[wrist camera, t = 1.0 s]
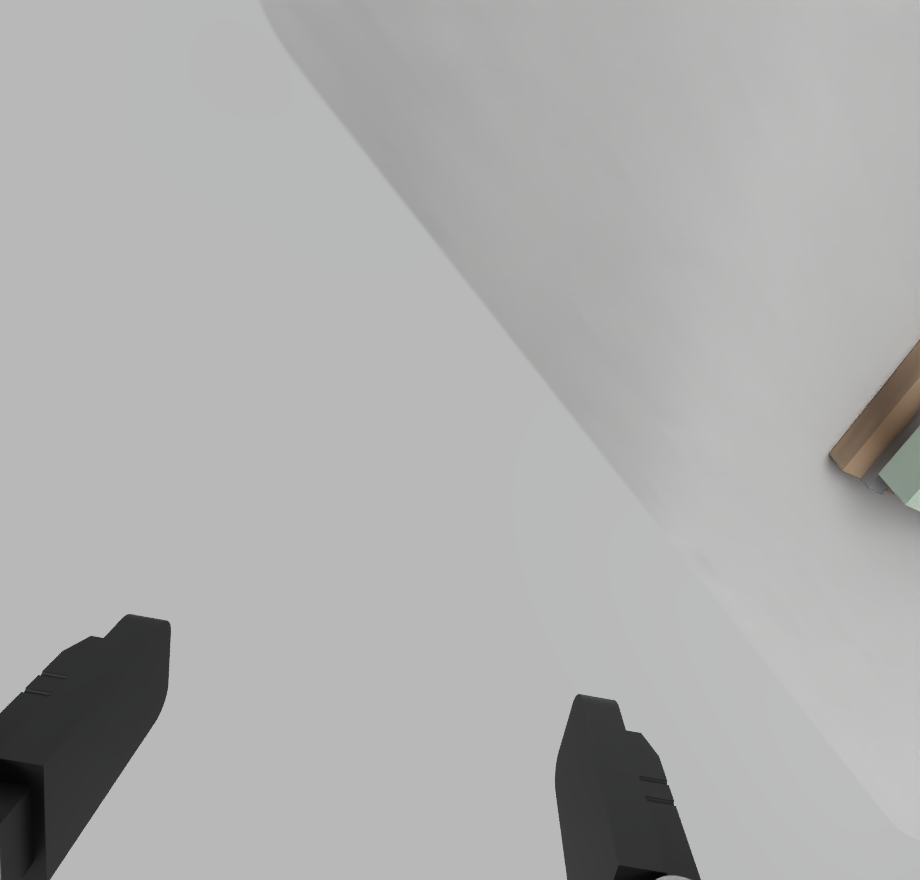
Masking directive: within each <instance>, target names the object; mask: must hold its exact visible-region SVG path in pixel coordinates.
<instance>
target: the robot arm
mask: <svg viewBox="0 0 920 880" xmlns="http://www.w3.org/2000/svg"><path fill="white" fill-rule="evenodd" d="M170 637H171V627H170V623H169V622H168V621H166V620H160V619H154V618H149V617H143V616H137V615H132V614H128V615H126V616H124V617H123V618H122V619H121V620H120V621H119V622H118V623H117V625H116V626H115V627H114V628H113V629H112V630H111V631H110V632H109V633H108V634H107V635H106V636H105V637H104V638H100V637H94V636H90V637H88V638H86V639H84V640H83V641H81V642H79V643H77V644H75V645H73V646H71V647H70V648H68V649H66V650H64V651H62V652H61V653H60V654H59V655H58V656H57V657H56V658H55V659H54V660H53V661H52V662H51V663H50V664H49V665H48V666H47V667H46V668H45V669H44V670H43V672H42V674H41V676H40V675H38V676H37V677H36V678H35V679H34V680H33V681H32V682H31V683H30V684H29V685H28V686H27V687H26V690H25V692H24V693H23V692H21V693H20V694H19V695H18V696H17V697H16V698H15V699H14V700H13V701H12V702H11V703H10V704H9V705H8V706H7V707H6V708H5V709H4V710H3V711H2V712H1V713H0V880H50V879H51V877H52V876H53V874H54V873H55V871H56V870H57V868H58V867H59V865H60V864H61V862H62V861H63V859H64V858H65V856H66V855H67V853H68V852H69V850H70V849H71V847H72V846H73V844H74V843H75V841H76V840H77V838H78V837H79V835H80V834H81V832H82V831H83V829H84V828H85V826H86V825H87V823H88V822H89V820H90V819H91V817H92V816H93V814H94V813H95V811H96V810H97V808H98V807H99V805H100V804H101V802H102V801H103V799H104V798H105V796H106V795H107V793H108V792H109V790H110V789H111V787H112V786H113V784H114V783H115V781H116V780H117V778H118V777H119V775H120V774H121V772H122V771H123V769H124V768H125V766H126V765H127V763H128V762H129V760H130V759H131V757H132V756H133V754H134V753H135V751H136V750H137V749H138V747H139V746H140V744H141V743H142V741H143V740H144V738H145V737H146V735H147V734H148V732H149V731H150V729H151V728H152V726H153V725H154V723H155V721H156V720H157V718H158V716H159V714H160V712H161V710H162V707H163V704H164V701H165V698H166V695H167V690H168V678H169V657H170ZM555 789H556V798H557V805H558V813H559V821H560V828H561V835H562V843H563V850H564V858H565V865H566V873H567V880H701V879H700V876H699V873H698V870H697V867H696V864H695V862H694V859H693V856H692V853H691V850H690V847H689V844H688V841H687V838H686V835H685V832H684V829H683V826H682V823H681V820H680V818H679V814H678V812H677V809H676V806H674V803H673V802H674V800H673V797H672V794H671V791H670V788H669V785H667V779H666V776H665V773H664V770H663V767H662V764H661V761H660V758H659V756H658V755H657V753H656V752H655V751H654V749H653V748H652V747H651V746H650V744H649V743H648V742H647V740H646V739H645V738H644V737H643V735H642V734H641V733H637V732H631V731H626V730H625V726H624V723H623V720H622V716H621V713H620V709H619V706H618V704H617V702H616V701H615V700H609V699H604V698H598V697H592V696H587V695H581V694H578V695H577V696H576V697H575V699H574V702H573V705H572V708H571V712H570V716H569V719H568V722H567V726H566V729H565V732H564V736H563V739H562V743H561V746H560V750H559V753H558V757H557V763H556V772H555Z"/></svg>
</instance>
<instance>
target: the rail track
mask: <svg viewBox="0 0 920 880" xmlns="http://www.w3.org/2000/svg"><path fill="white" fill-rule="evenodd" d="M919 426H920V341H919V342H918V343H917V345H916V346H915V347H914V348H913V350H912V351H911V352H910V353H909V355H908V356H907V357H906V358H905V360H904V361H903V362H902V363H901V365H900V366H899V367H898V368H897V370H896V371H895V372H894V373H893V375H892V376H891V377H890V378H889V380H888V381H887V382H886V383H885V385H884V386H883V387H882V388H881V390H880V391H879V392H878V393H877V395H876V396H875V397H874V398H873V400H872V401H871V402H870V403H869V405H868V406H867V407H866V408H865V410H864V411H863V412H862V413H861V415H860V416H859V417H858V418H857V420H856V421H855V422H854V423H853V425H852V426H851V427H850V428H849V430H848V431H847V432H846V433H845V435H844V436H843V437H842V438H841V440H840V441H839V442H838V443H837V445H836V446H835V447H834V448H833V450H832V451H831V452H830V453H829V454H830V456H831V457H832V458H833V459H834V461H835V462H836V463H837V465H838V466H839V467H840V469H841V470H842V471H844V472H846V473H848V474H851V475H853V476H855V477H857V478H860V479H861V480H862V481H863V483H864V484H865V485H866V486H867V488H869V489H871V490H873V491H875V492H878V493H880V494H882V493H883V492H884V491H885V490H887V491H889V492H891V493H894V492H893V491H892V489H891V488H890V487H889V486H888V485H887V484H886V482H885V481H884V480H883V479H882V478H881V477H880V476H879V473H880V471H881V470H882V469H883V468H884V467H885V466H886V464H887V463H888V462H889V461H890V460H891V459H892V457H893V456H894V455H895V454H896V453H897V452H898V450H899V449H900V448H901V447H902V446H903V445H904V443H905V442H906V441H907V440H908V439H909V438H910V437H911V435H912V434H913V433H914V432H915V431H916V430H917V428H918V427H919ZM894 494H895V493H894Z"/></svg>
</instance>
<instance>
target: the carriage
mask: <svg viewBox="0 0 920 880" xmlns="http://www.w3.org/2000/svg"><path fill="white" fill-rule="evenodd" d="M879 476H880V477H881V478H882V479H883V480H884V481H885V482H886V484H887V485H888V486H889V487H890V488H891V489H892V491H893V492H894V493H895V494H896V495H897V496H898V497H899V499H900V500H901V501H902V502H903V503H904V504H905V505H906V506H908V507H911V508H913V509H915V510H917V511H920V426H919V427H918V428H917V430H916V431H915V432H914V433H913V434H912V435H911V437H910V438H909V439H908V440H907V441H906V442H905V443H904V445H903V446H902V447H901V448H900V449H899V450H898V452H897V453H896V454H895V455H894V456H893V457H892V459H891V460H890V461H889V462H888V463H887V464H886V466H885V467H884V468H883V469H882V470H881V471H880V473H879Z"/></svg>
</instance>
